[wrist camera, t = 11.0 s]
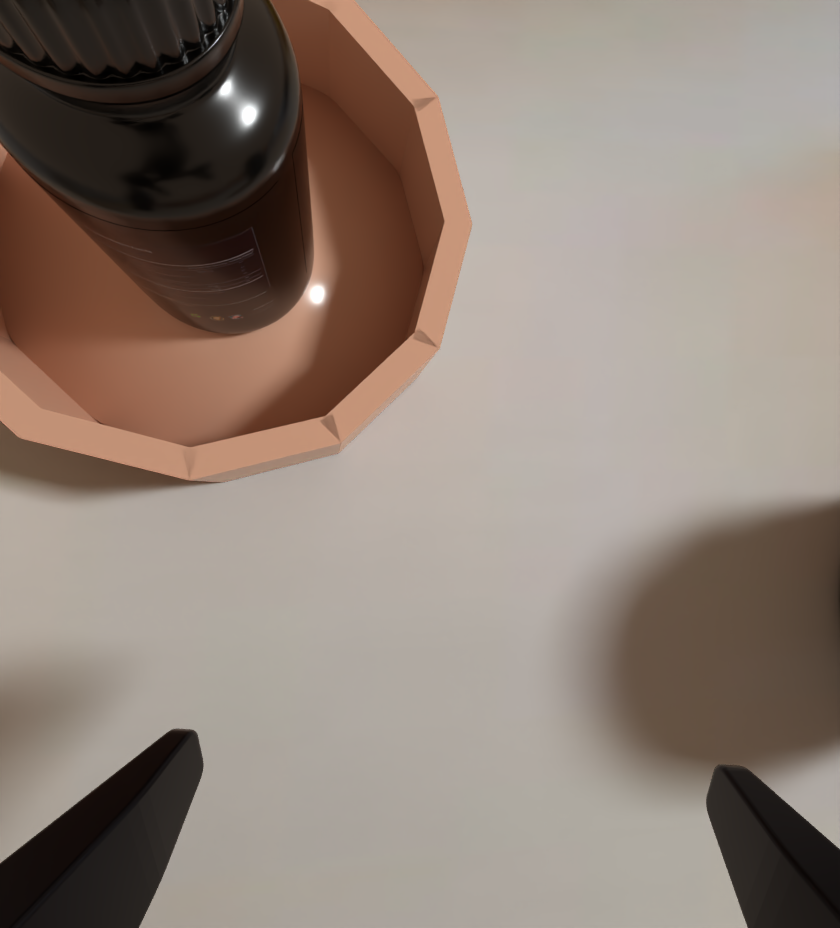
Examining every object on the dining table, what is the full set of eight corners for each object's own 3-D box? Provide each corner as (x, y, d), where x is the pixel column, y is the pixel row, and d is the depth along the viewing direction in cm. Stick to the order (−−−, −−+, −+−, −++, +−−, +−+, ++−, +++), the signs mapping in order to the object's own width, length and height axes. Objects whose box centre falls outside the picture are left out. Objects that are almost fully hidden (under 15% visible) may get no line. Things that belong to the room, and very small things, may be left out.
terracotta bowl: (44, 527, 17) (-55, 541, 13) (-77, 70, 17) (-218, -73, 13) (478, 418, 21) (518, 399, 16) (378, 41, 21) (391, -79, 16)
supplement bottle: (130, 167, 18) (-277, -494, 6) (310, 180, 19) (279, -333, 7) (136, 341, 17) (-282, 19, 5) (319, 341, 19) (302, 84, 7)
